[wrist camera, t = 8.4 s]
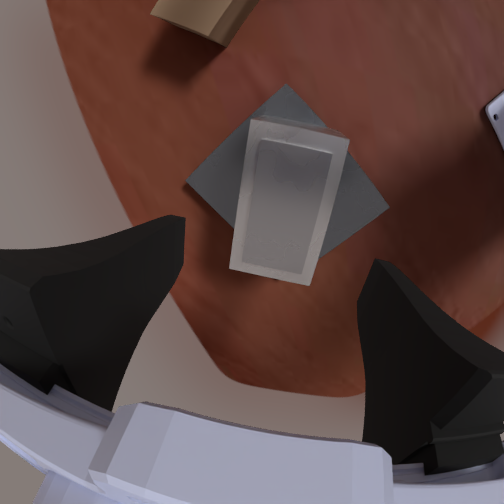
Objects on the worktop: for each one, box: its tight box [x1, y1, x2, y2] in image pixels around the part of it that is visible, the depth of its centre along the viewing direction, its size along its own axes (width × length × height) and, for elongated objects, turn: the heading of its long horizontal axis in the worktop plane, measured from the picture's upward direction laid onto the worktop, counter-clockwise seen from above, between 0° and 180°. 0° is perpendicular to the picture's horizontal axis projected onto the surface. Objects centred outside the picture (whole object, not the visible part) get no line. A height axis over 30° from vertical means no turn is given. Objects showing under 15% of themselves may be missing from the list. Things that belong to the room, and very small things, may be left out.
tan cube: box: [150, 0, 259, 47], centre depth 13 cm, size 4×4×4 cm
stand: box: [185, 84, 390, 259], centre depth 19 cm, size 10×9×1 cm
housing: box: [229, 115, 350, 286], centre depth 16 cm, size 8×4×5 cm, turn 171°
